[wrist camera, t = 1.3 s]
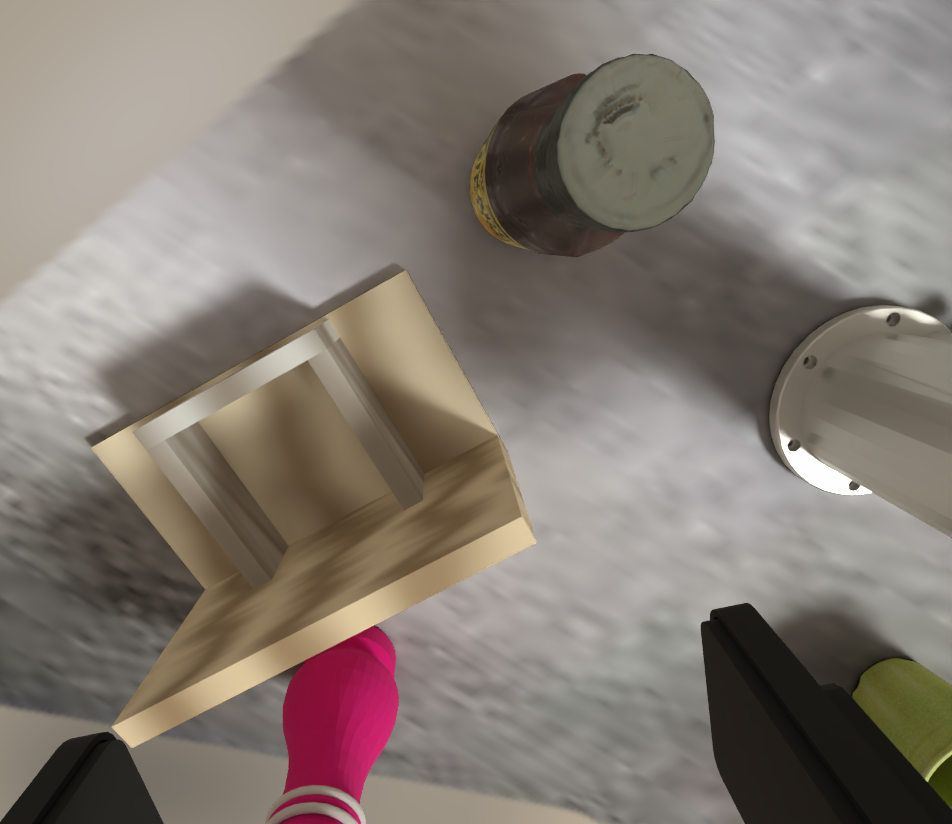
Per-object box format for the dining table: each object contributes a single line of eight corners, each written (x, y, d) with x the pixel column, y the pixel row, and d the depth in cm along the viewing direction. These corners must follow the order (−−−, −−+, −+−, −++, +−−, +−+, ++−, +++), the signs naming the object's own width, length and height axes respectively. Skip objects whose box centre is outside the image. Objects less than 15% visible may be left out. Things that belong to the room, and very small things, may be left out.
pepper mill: (282, 636, 40) (137, 996, 21) (376, 598, 40) (315, 930, 20) (330, 711, 42) (237, 1101, 23) (419, 675, 42) (400, 1043, 22)
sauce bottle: (465, 133, 32) (502, -37, 13) (576, 129, 32) (778, -44, 13) (470, 255, 33) (510, 268, 14) (575, 250, 34) (750, 257, 15)
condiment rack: (405, 269, 33) (387, 282, 22) (507, 450, 37) (536, 542, 26) (98, 443, 35) (-68, 539, 24) (223, 599, 39) (131, 748, 27)
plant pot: (810, 678, 44) (896, 779, 36) (922, 616, 43) (1038, 705, 34) (855, 754, 46) (946, 865, 38) (962, 697, 45) (1079, 799, 37)
